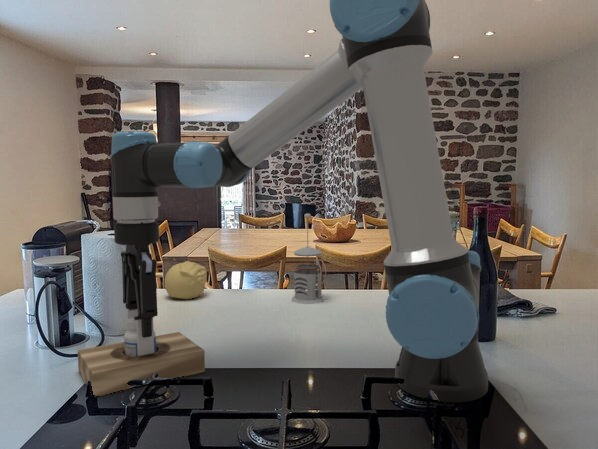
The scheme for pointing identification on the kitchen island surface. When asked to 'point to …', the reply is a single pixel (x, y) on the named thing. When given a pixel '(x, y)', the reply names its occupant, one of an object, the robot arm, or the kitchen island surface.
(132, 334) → the pill bottle
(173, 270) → the sculpture
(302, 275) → the french press
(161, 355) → the board
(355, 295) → the kitchen island surface
